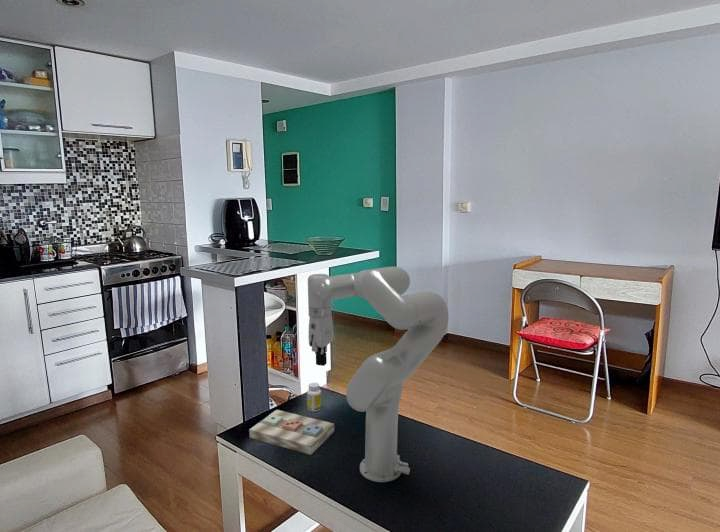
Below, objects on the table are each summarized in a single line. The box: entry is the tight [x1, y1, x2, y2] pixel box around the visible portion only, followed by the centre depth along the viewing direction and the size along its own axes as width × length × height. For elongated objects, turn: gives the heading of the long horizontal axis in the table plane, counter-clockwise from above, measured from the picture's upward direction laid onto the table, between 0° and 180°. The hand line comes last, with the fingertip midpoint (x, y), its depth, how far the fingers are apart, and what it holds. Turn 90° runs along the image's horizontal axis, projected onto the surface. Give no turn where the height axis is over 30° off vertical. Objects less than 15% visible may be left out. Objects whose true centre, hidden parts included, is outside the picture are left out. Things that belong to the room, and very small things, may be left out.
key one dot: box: [262, 413, 283, 427], centre depth 161 cm, size 5×5×3 cm
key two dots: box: [302, 424, 323, 437], centre depth 154 cm, size 5×5×3 cm
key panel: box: [248, 409, 335, 456], centre depth 158 cm, size 24×16×3 cm, turn 66°
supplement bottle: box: [306, 382, 322, 413], centre depth 176 cm, size 5×5×10 cm
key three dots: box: [282, 419, 303, 432], centre depth 157 cm, size 5×5×3 cm
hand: (321, 364), depth 154 cm, fingers closed
